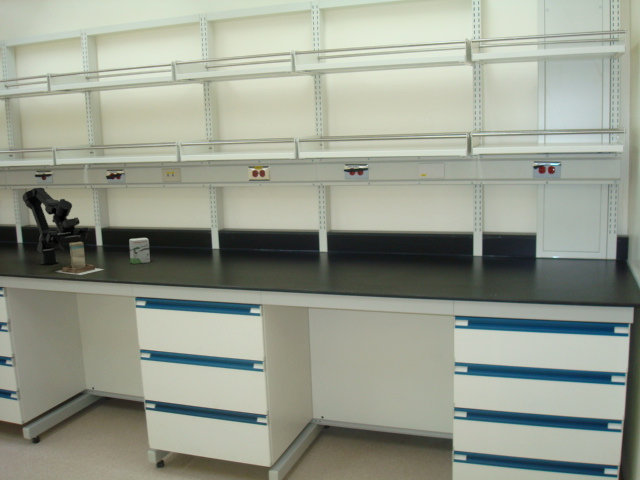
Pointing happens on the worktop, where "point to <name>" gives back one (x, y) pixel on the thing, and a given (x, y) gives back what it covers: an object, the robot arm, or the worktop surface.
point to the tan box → (77, 255)
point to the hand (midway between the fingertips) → (74, 249)
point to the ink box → (139, 250)
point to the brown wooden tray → (79, 270)
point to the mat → (82, 272)
